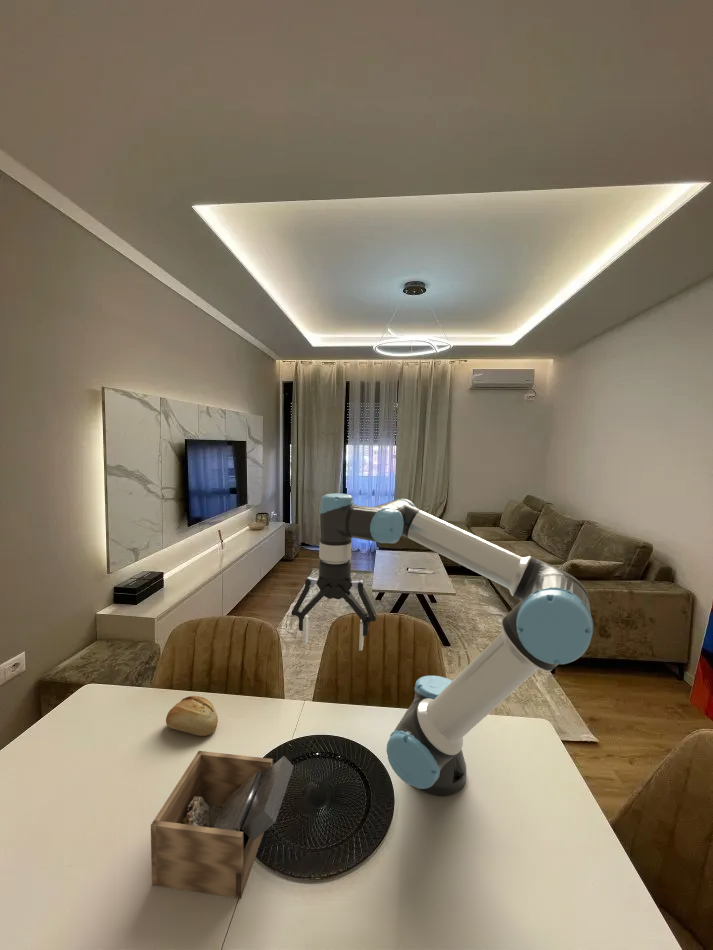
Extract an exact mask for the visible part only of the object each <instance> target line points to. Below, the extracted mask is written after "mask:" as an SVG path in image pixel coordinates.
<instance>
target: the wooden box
mask: <svg viewBox="0 0 713 950" xmlns="http://www.w3.org/2000/svg"><path fill="white" fill-rule="evenodd" d="M273 760H274V759H273V758H267V757H258V756H257V757H256V756H251V755H250V756H249V755H241V754H231V753H222V752H214V751H206V750H198V751H197V753H196V754H195V756H194V757H193V759H192V760H191V762H190V763H189V765H188V767H187V768H186V770H185V771H184V773H183V775H181V777H180V779H179V780H178V782H177V784H176V785H175V787H174V788H173V790H172V791H171V793H170V795H169V796H168V797H167V798H166V800H165V802H164V804H163V806H162V807H161V808H160V810H159V812H158V813H157V814H156V816H155V818H154V819H153V821H152V822H151V824H150V855H151V856H150V858H151V862H150V863H151V867H150V868H151V886H157V887H161V888H162V887H163V888H170V889H176V890H182V891H189V892H196V893H197V892H198V893H203V894H207V895H208V894H209V895H216V896H222V897H230V898H236V899H242V897H243V894H244V892H245V889H246V886H247V883H248V880H249V877H250V874H251V871H252V868H253V866H254V863H255V860H256V857H257V853H258V852H259V849H258V848H260V846H261V843H262V839H263V837H264V833H265V831H264V832H263V833H262V834H261V835H260V836H258V837H257V838H256V839H255V840H254V841H252V840H251V839H250V838H249V837H248V840H247V843H246V845H245V847H244V831H240V830H239V831H232V830H225V829H217V828H213V827H210V826H209V827H202V826H194V825H187V824H182V821H183V819H184V818H185V817H187V808H188V806H189V804H190V802H191V801H192V800H193V798H194V797H195V796H196V797H202V798H203V799H204V802H205V803H206V804H208V806H209V807H217V808H218V807H219V808H223V806H224V804H225V802H226V800H227V798H228V796H229V795H231V794H232V793H233V792H234V791H235V790H236V789H238V788H239V787H240V786H241V785H242V784H243V783H244V782H246V781H247V780H248V779H249V778H250V777H251V776H253V775H254V774H255V773H256V772H257V771H258V770H260V771H262V773H263V774H262V777H261V779H260V782H259V784H258V787H257V789H256V792H255V794H254V796H253V799H252V801H251V804H250V806H249V809H248V811H249V810H250V807H251V805H252V802H253V800H254V797H255V795H256V793H257V790H258V788H259V785H260V783H261V780H262V778H263V775H264V773H265V772H266V771H267V770H268V769H269V768H270V767H272V766H273V765H274V764H273Z"/></svg>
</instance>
